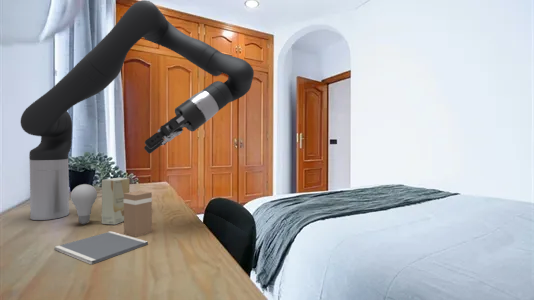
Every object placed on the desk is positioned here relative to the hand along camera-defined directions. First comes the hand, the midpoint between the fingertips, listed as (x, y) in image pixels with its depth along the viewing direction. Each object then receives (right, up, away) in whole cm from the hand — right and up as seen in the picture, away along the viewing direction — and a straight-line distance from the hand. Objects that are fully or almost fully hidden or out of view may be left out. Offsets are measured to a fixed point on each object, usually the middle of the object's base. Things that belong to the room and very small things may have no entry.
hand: (146, 148), depth 69 cm
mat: (-6, -21, -8) cm, 24 cm away
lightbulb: (-21, -21, +8) cm, 30 cm away
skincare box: (-13, -21, +11) cm, 27 cm away
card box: (-3, -21, +1) cm, 21 cm away
